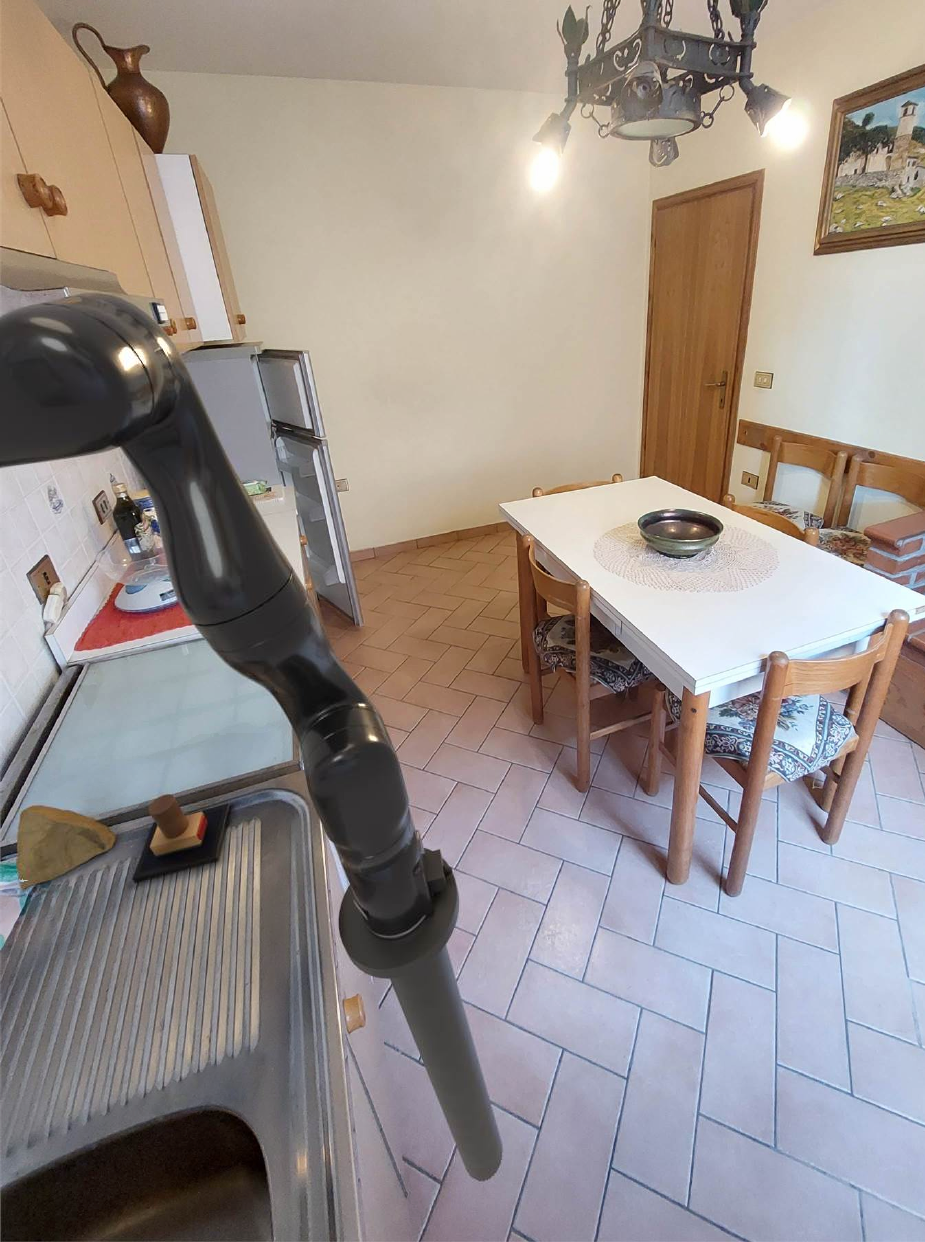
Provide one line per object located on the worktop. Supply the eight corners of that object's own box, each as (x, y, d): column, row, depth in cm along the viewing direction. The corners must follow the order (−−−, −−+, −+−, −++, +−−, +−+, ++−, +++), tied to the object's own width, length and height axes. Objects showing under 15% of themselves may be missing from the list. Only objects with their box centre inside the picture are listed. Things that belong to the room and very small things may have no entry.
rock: (130, 810, 84) (68, 803, 84) (89, 812, 76) (21, 804, 77) (102, 892, 80) (37, 884, 80) (56, 903, 72) (-16, 894, 72)
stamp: (156, 858, 78) (132, 822, 74) (165, 833, 82) (143, 797, 78) (203, 845, 79) (182, 810, 75) (209, 821, 83) (190, 786, 79)
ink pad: (231, 807, 86) (229, 803, 85) (218, 861, 78) (215, 857, 77) (156, 826, 84) (153, 822, 83) (134, 883, 76) (131, 879, 76)
